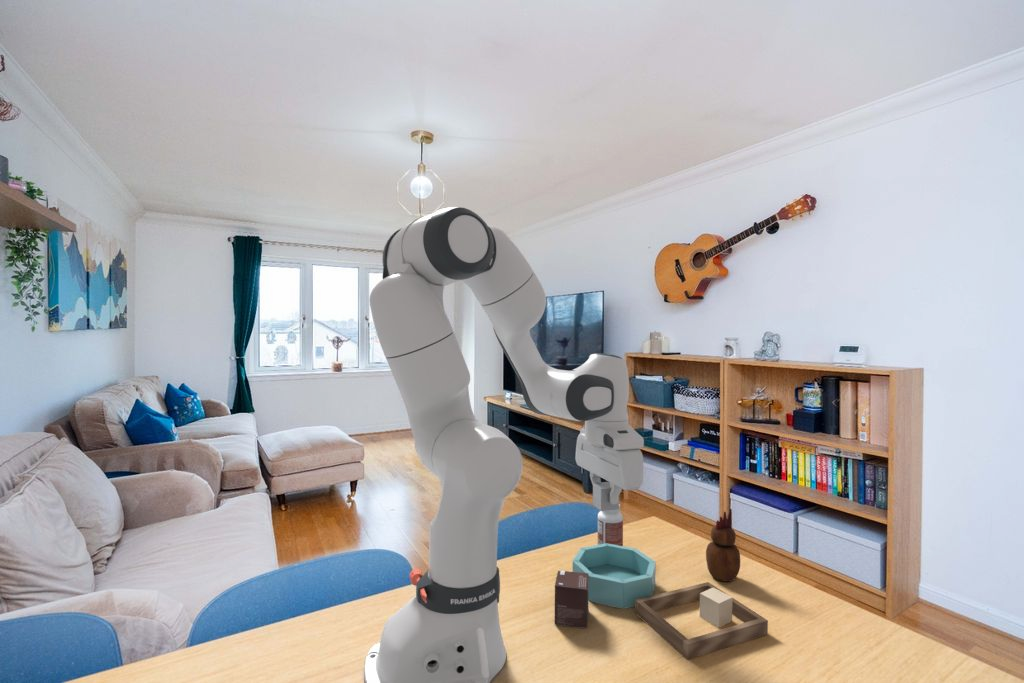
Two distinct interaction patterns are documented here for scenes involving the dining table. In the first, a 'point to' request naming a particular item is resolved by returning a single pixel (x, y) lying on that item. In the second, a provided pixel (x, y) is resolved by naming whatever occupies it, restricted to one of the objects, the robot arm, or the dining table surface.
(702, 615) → the beige matte cube
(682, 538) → the dining table surface
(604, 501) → the pale grey cube
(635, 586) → the bowl
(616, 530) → the pill bottle
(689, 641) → the frame
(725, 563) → the wooden figurine
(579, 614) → the box
